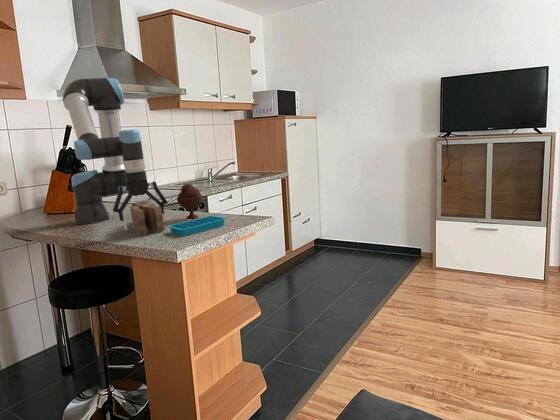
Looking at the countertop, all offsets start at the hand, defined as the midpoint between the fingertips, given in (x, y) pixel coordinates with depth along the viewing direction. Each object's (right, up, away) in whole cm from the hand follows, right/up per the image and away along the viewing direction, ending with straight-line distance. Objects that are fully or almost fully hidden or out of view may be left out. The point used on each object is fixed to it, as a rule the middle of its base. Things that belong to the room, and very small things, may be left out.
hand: (143, 225), depth 165 cm
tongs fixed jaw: (-2, -2, +4) cm, 5 cm away
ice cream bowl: (+15, +2, +20) cm, 25 cm away
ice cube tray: (+22, -2, -2) cm, 22 cm away
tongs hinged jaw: (+2, -1, +5) cm, 5 cm away
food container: (-3, +1, +21) cm, 22 cm away
